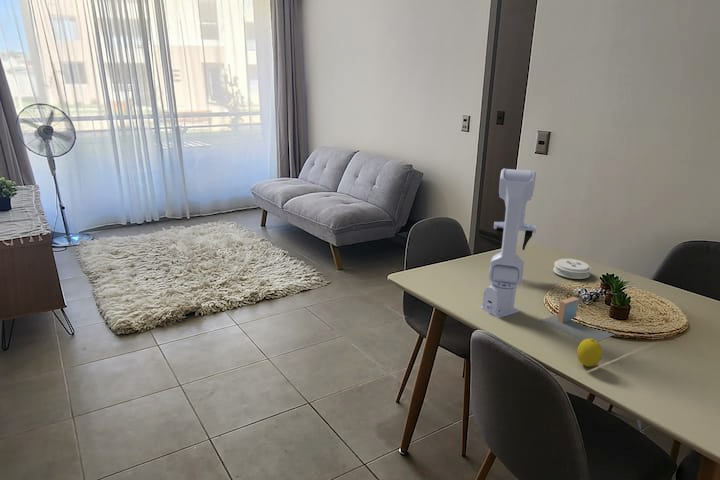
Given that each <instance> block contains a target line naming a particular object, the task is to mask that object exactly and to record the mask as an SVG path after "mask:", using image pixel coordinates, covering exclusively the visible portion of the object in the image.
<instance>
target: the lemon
mask: <svg viewBox="0 0 720 480" xmlns="http://www.w3.org/2000/svg"><path fill="white" fill-rule="evenodd" d="M576 356H577V359H578V361H579V362H580V364H582V365H584V366H585V367H595V366H596V365H598V364H599V363H600V362H601V359H602V356H603V349H602V345H601V344H600V343H599V341H598V342H597V341H596V340H594V339H592V338H591V339H585V340H583V341H580V343H579V345H578V347H577V351H576Z"/></svg>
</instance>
